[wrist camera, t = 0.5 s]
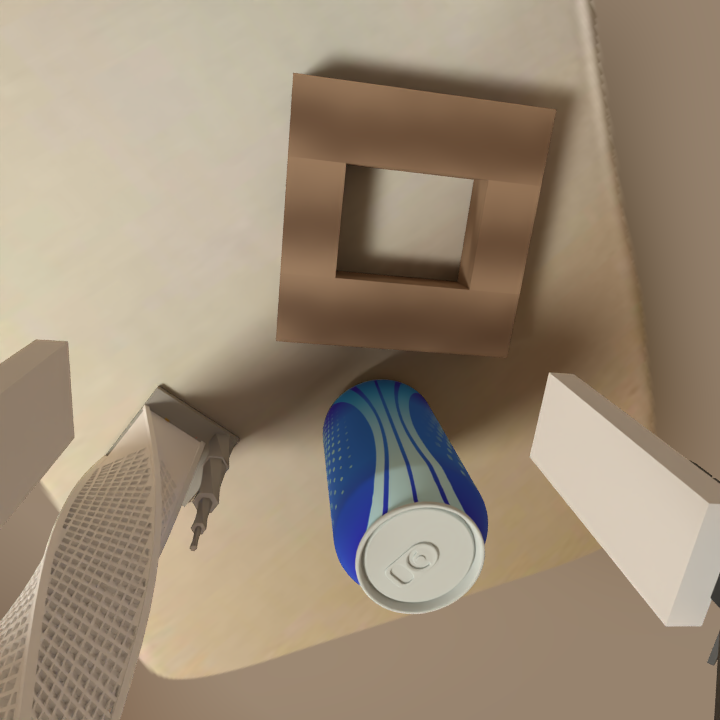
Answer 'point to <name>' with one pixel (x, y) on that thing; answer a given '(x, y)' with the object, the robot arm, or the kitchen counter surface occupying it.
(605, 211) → the kitchen counter surface
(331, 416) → the beer can
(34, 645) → the skyscraper
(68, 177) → the kitchen counter surface
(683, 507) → the robot arm
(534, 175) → the holder
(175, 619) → the kitchen counter surface
